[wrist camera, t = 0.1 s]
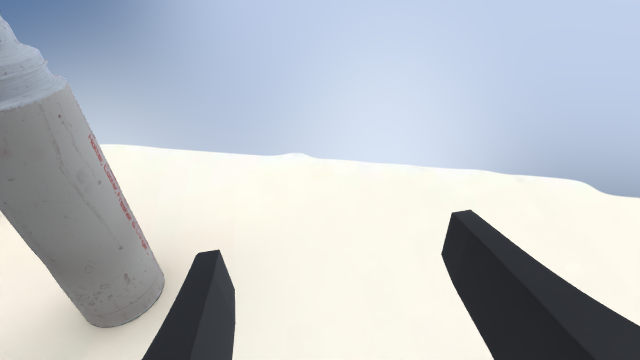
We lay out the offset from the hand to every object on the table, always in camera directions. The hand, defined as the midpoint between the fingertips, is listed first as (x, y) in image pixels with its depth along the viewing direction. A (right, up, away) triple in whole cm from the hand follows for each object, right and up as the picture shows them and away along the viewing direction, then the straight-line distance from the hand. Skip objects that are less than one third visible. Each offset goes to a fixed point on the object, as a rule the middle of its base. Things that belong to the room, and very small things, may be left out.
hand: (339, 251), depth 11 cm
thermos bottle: (-21, -10, +26) cm, 35 cm away
